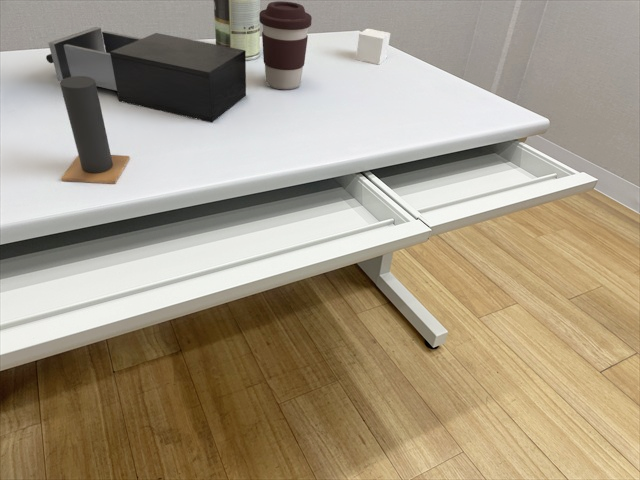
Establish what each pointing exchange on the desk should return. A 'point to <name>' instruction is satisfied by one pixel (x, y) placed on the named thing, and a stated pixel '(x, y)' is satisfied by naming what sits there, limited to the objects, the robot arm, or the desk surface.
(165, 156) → the desk surface
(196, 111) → the cabinet
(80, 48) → the drawer
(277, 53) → the coffee cup
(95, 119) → the canister
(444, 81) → the desk surface
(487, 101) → the desk surface
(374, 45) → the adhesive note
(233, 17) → the coffee can
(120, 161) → the pad
